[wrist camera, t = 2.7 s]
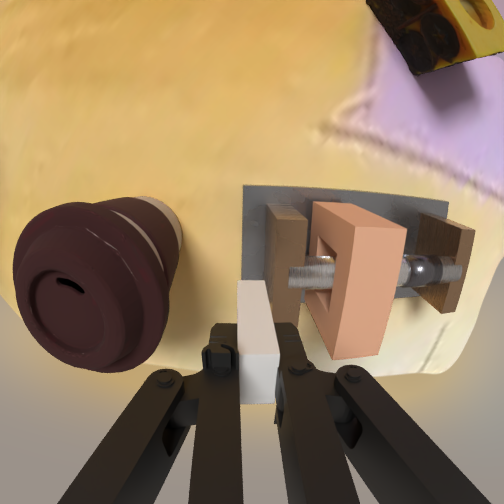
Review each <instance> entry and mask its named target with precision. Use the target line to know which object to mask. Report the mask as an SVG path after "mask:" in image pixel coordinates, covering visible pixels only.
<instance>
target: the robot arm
mask: <svg viewBox="0 0 504 504" xmlns="http://www.w3.org/2000/svg"><path fill="white" fill-rule="evenodd" d="M202 363H203V369H202V370H201V371H200V372H198V373H196V374H193V375H189V376H182V375H181V374H180V373H179V372H177V371H175V370H172V369H160V370H157V371H155V372H153V373H152V374H151V375H150V376H149V377H148V378H147V379H146V381H145V382H144V384H143V385H142V386H141V388H140V389H139V390H138V392H137V393H136V394H135V396H134V397H133V399H132V400H131V401H130V403H129V404H128V406H127V407H126V408H125V410H124V411H123V412H122V414H121V415H120V416H119V418H118V419H117V421H116V422H115V423H114V425H113V426H112V428H111V429H110V430H109V432H108V433H107V435H106V436H105V437H104V439H103V440H102V441H101V443H100V444H99V446H98V447H97V448H96V450H95V451H94V453H93V454H92V455H91V457H90V458H89V460H88V461H87V462H86V464H85V465H84V467H83V468H82V470H81V471H80V472H79V474H78V475H77V476H76V478H75V479H74V481H73V482H72V483H71V485H70V486H69V488H68V489H67V491H66V492H65V493H64V495H63V496H62V498H61V499H60V501H59V502H58V503H57V504H154V502H155V500H156V498H157V496H158V494H159V492H160V490H161V488H162V486H163V484H164V481H165V479H166V477H167V475H168V473H169V471H170V469H171V467H172V465H173V463H174V461H175V459H176V457H177V455H178V453H179V450H180V448H181V446H182V444H183V442H184V440H185V438H186V436H187V434H188V432H189V429H190V427H191V425H196V431H195V440H194V450H193V459H192V469H191V479H190V490H189V502H188V504H243V481H242V480H243V479H242V453H241V422H240V404H271V403H272V404H273V403H275V398H276V404H277V405H276V413H275V421H274V424H277V427H278V434H279V440H280V448H281V454H282V462H283V469H284V475H285V483H286V489H287V496H288V503H289V504H360V502H359V498H358V495H357V492H356V489H355V485H354V483H353V479H352V476H351V473H350V470H349V466H348V463H347V460H346V457H345V454H346V456H347V457H348V459H349V460H350V462H351V463H352V465H353V466H354V467H355V469H356V471H357V472H358V474H359V475H360V477H361V478H362V479H363V481H364V482H365V484H366V485H367V487H368V488H369V489H370V491H371V492H372V494H373V495H374V497H375V498H376V499H377V501H378V502H379V504H491V503H490V502H489V501H488V500H487V499H486V497H484V495H483V494H482V493H481V492H480V491H479V490H478V489H477V488H476V487H475V486H474V485H473V484H472V482H471V481H470V480H469V479H468V478H467V477H466V476H465V475H464V474H463V473H462V472H461V471H460V470H459V468H458V467H456V465H455V464H454V463H453V462H452V461H451V460H450V459H449V458H448V457H447V456H446V455H445V454H444V452H443V451H442V450H441V449H440V448H439V447H438V446H437V445H436V444H435V443H434V442H433V441H432V440H431V439H430V437H429V436H428V435H427V434H426V433H425V432H424V431H423V430H422V429H421V428H420V427H419V426H418V425H417V424H416V423H415V421H413V419H412V418H411V417H410V416H409V415H408V414H407V413H406V412H405V411H404V410H403V409H402V408H401V407H400V406H399V404H398V403H397V402H396V401H395V400H394V399H393V398H392V397H391V396H390V395H389V394H388V393H387V392H386V391H385V390H384V388H383V387H382V386H381V385H380V384H379V383H378V382H377V381H376V380H375V379H374V378H373V377H372V376H371V375H370V374H369V373H368V371H366V370H365V369H364V368H362V367H360V366H357V365H345V366H343V367H340V368H339V369H338V371H337V372H336V373H330V372H324V371H320V370H318V369H316V367H315V366H314V364H313V363H312V362H310V361H309V360H308V359H307V356H306V353H305V350H304V347H303V344H302V341H301V338H300V336H299V332H298V329H297V327H295V326H294V325H293V324H292V323H291V322H283V323H273V318H272V313H271V309H270V304H269V299H268V295H267V290H266V285H265V281H264V280H237V324H231V323H216V324H215V325H214V326H213V327H212V329H211V333H210V340H209V345H207V346H206V347H205V348H203V350H202ZM344 453H345V454H344Z"/></svg>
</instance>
